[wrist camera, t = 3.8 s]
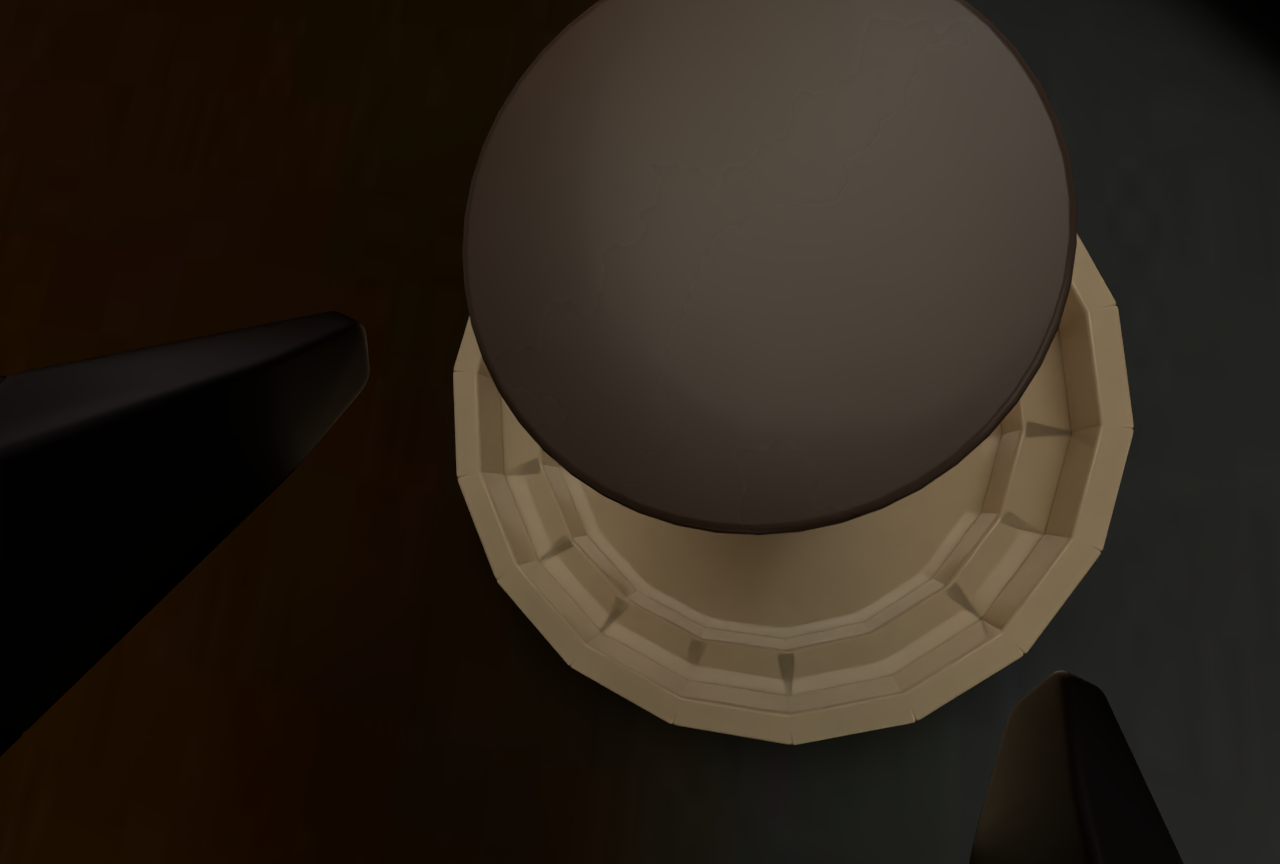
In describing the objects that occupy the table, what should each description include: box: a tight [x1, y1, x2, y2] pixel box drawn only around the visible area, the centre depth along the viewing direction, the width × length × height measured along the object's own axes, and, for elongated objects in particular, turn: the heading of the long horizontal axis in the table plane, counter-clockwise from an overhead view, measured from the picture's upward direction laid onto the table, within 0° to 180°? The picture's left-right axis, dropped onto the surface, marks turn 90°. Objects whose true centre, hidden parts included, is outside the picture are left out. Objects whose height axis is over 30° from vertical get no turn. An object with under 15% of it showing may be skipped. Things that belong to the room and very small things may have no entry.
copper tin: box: [462, 0, 1077, 535], centre depth 12 cm, size 5×5×12 cm
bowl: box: [453, 234, 1134, 745], centre depth 17 cm, size 14×14×4 cm
